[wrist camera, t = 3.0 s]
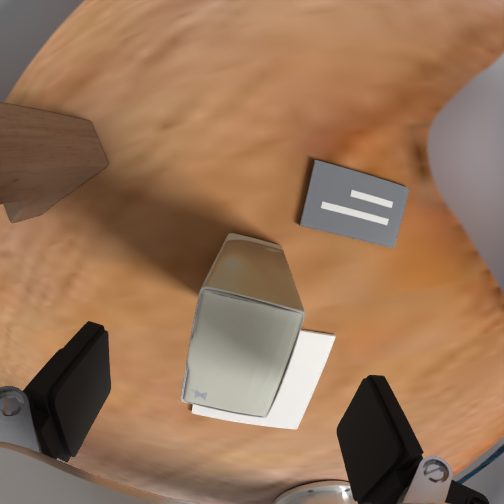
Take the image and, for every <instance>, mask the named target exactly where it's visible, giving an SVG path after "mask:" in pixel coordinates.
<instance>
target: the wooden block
mask: <svg viewBox="0 0 504 504" xmlns="http://www.w3.org/2000/svg"><path fill="white" fill-rule="evenodd" d="M107 165H108V160H107V158H106V155H105V153H104V151H103V148H102V146H101V143H100V141H99V139H98V136H97V134H96V131H95V129H94V126H93V124H92V122H91V121H89V120H85V119H81V118H76V117H72V116H68V115H63V114H59V113H54V112H49V111H45V110H40V109H35V108H29V107H24V106H19V105H13V104H7V103H1V102H0V204H4V207H5V210H6V212H7V215H8V218H9V220H10V222H11V223H16V222H20V221H23V220H26V219H30V218H33V217H37V216H40V215H42V214H43V213H45V212H46V211H47V210H48V209H50V208H51V207H52V206H53V205H55V204H56V203H57V202H58V201H60V200H61V199H62V198H64V197H65V196H66V195H68V194H69V193H70V192H72V191H73V190H74V189H76V188H77V187H79V186H80V185H81V184H83V183H84V182H86V181H87V180H88V179H90V178H91V177H93V176H94V175H96V174H97V173H99V172H100V171H101V170H103V169H104V168H106V167H107Z"/></svg>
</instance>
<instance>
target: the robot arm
mask: <svg viewBox="0 0 504 504" xmlns="http://www.w3.org/2000/svg"><path fill="white" fill-rule="evenodd" d="M110 390H111V378H110V364H109V342H108V331H106V330H104V326H103V325H100V324H97V323H94V322H90V321H88V322H87V323H86V324H85V325H84V326H83V327H82V328H81V329H80V330H79V331H78V332H77V334H76V335H75V336H74V337H73V338H72V339H71V340H70V341H69V342H68V343H67V344H66V346H65V347H64V348H62V349H60V350H58V351H57V352H56V354H55V355H54V356H53V357H52V358H51V359H50V360H49V361H48V362H47V364H46V365H45V366H44V367H43V368H42V369H41V370H40V372H39V373H38V374H37V375H36V376H35V377H34V378H33V380H32V381H31V382H30V383H29V384H28V385H27V387H26V388H25V389H24V390H23V391H22V390H20V389H19V388H16V387H13V386H5V387H0V504H198V503H193V502H188V501H183V500H178V499H173V498H169V497H165V496H160V495H156V494H153V493H149V492H145V491H142V490H138V489H135V488H131V487H128V486H125V485H122V484H119V483H116V482H113V481H110V480H107V479H104V478H101V477H98V476H96V475H93V474H90V473H88V472H85V471H83V470H80V469H78V468H75V467H73V466H70V465H68V464H66V463H63V462H61V461H58V460H56V459H57V458H59V459H61V460H63V461H65V462H68V461H69V459H70V457H71V456H72V457H75V456H76V454H77V453H78V451H79V449H80V447H81V445H82V443H83V441H84V439H85V437H86V435H87V434H88V432H89V430H90V428H91V426H92V424H93V422H94V420H95V419H96V417H97V415H98V413H99V411H100V410H101V408H102V406H103V404H104V402H105V400H106V399H107V397H108V395H109V393H110ZM337 437H338V440H339V444H340V448H341V452H342V456H343V460H344V464H345V468H346V472H347V476H348V480H349V482H345V481H322V482H315V483H310V484H306V485H302V486H299V487H296V488H293V489H291V490H288V491H286V492H285V493H283V494H281V495H280V496H279V497H277V499H276V500H275V502H274V504H489V501H488V499H487V498H486V497H485V496H484V495H483V494H481V493H479V492H477V491H475V490H473V489H470V488H468V487H466V486H464V485H462V484H460V483H458V482H455V481H453V480H452V469H451V467H450V465H449V464H448V463H447V462H446V461H445V460H443V459H441V458H439V457H436V456H429V457H425V458H424V459H423V457H422V454H423V453H424V452H423V450H422V448H421V446H420V444H419V442H418V440H417V438H416V436H415V434H414V432H413V430H412V428H411V426H410V424H409V422H408V420H407V418H406V416H405V414H404V412H403V410H402V409H401V407H400V405H399V403H398V401H397V399H396V397H395V395H394V393H393V391H392V389H391V388H390V386H389V384H388V382H387V380H386V378H385V377H384V376H379V375H369V376H368V377H367V378H365V379H363V380H362V382H361V384H360V386H359V388H358V390H357V392H356V394H355V396H354V397H353V399H352V401H351V403H350V405H349V407H348V409H347V410H346V412H345V414H344V416H343V417H342V419H341V421H340V423H339V424H338V427H337Z"/></svg>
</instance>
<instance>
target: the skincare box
mask: <svg viewBox="0 0 504 504" xmlns="http://www.w3.org/2000/svg"><path fill="white" fill-rule="evenodd" d="M304 317H305V311H304V308H303V306H302V302H301V299H300V297H299V294H298V291H297V288H296V285H295V282H294V280H293V277H292V274H291V271H290V268H289V265H288V263H287V260H286V257H285V254H284V251H283V248H282V246H280V245H277V244H273V243H270V242H266V241H263V240H259V239H255V238H251V237H247V236H243V235H239V234H235V233H229V234H228V235H227V237H226V239H225V241H224V243H223V245H222V247H221V249H220V251H219V253H218V255H217V257H216V259H215V261H214V263H213V265H212V267H211V269H210V271H209V273H208V275H207V277H206V279H205V281H204V283H203V285H202V287H201V289H200V292H199V298H198V303H197V307H196V312H195V317H194V322H193V327H192V333H191V338H190V344H189V349H188V355H187V362H186V368H185V374H184V380H183V386H182V394H181V401H182V402H186V403H189V404H194V405H198V406H201V407H206V408H210V409H214V410H219V411H224V412H228V413H233V414H239V415H244V416H252V417H259V418H266V417H267V416H268V414H269V412H270V410H271V409H272V406H273V404H274V402H275V400H276V398H277V396H278V393H279V391H280V388H281V386H282V383H283V381H284V378H285V376H286V373H287V370H288V367H289V364H290V362H291V359H292V356H293V353H294V350H295V347H296V344H297V340H298V337H299V334H300V331H301V327H302V324H303V320H304Z"/></svg>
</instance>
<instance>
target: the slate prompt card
mask: <svg viewBox="0 0 504 504" xmlns="http://www.w3.org/2000/svg"><path fill="white" fill-rule="evenodd" d="M408 193H409V188H407V187H404V186H401V185H398V184H395V183H392V182H389V181H386V180H383V179H380V178H377V177H374V176H370V175H367V174H364V173H360V172H357V171H354V170H350V169H347V168H343V167H340V166H336V165H333V164H329V163H325V162H321V161H318V160H314V164H313V168H312V173H311V177H310V182H309V186H308V190H307V195H306V199H305V203H304V207H303V212H302V216H301V220H300V224H299V225H300V226H303V227H307V228H312V229H316V230H320V231H325V232H329V233H333V234H337V235H341V236H346V237H350V238H354V239H358V240H362V241H366V242H370V243H374V244H378V245H382V246H386V247H390V248H394V246H395V243H396V239H397V236H398V232H399V228H400V225H401V221H402V217H403V213H404V209H405V205H406V201H407V197H408Z"/></svg>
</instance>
